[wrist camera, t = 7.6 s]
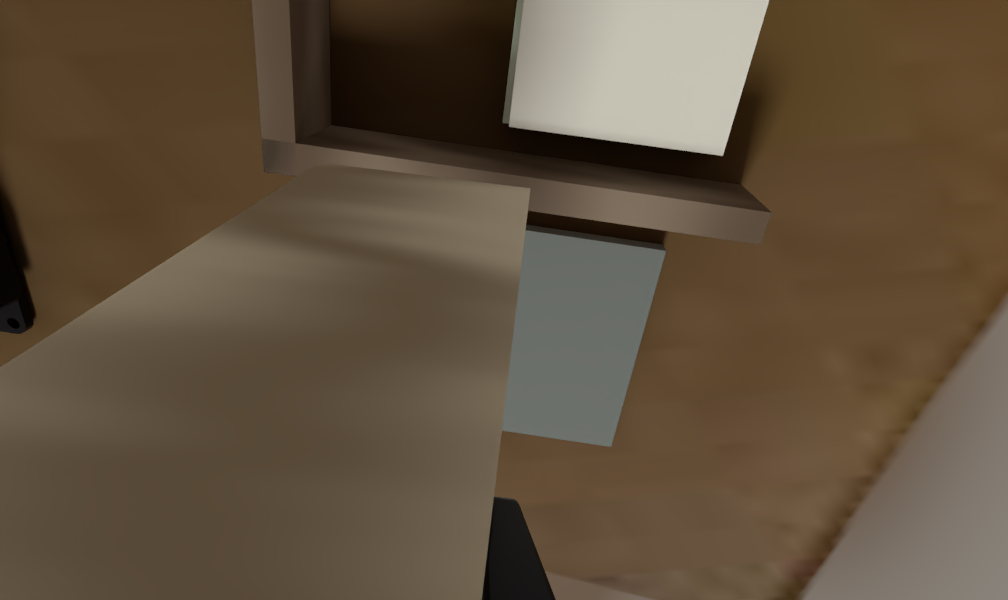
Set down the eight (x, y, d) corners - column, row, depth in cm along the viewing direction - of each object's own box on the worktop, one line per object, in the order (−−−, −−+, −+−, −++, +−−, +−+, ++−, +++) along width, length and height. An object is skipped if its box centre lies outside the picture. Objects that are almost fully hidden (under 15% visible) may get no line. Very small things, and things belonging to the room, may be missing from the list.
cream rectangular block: (334, 476, 14) (56, 1073, 6) (318, 162, 11) (-417, 634, 3) (491, 497, 14) (412, 1129, 6) (530, 188, 10) (462, 760, 2)
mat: (335, 396, 24) (330, 404, 24) (332, 196, 20) (326, 201, 20) (609, 437, 24) (610, 446, 24) (663, 244, 20) (666, 250, 20)
